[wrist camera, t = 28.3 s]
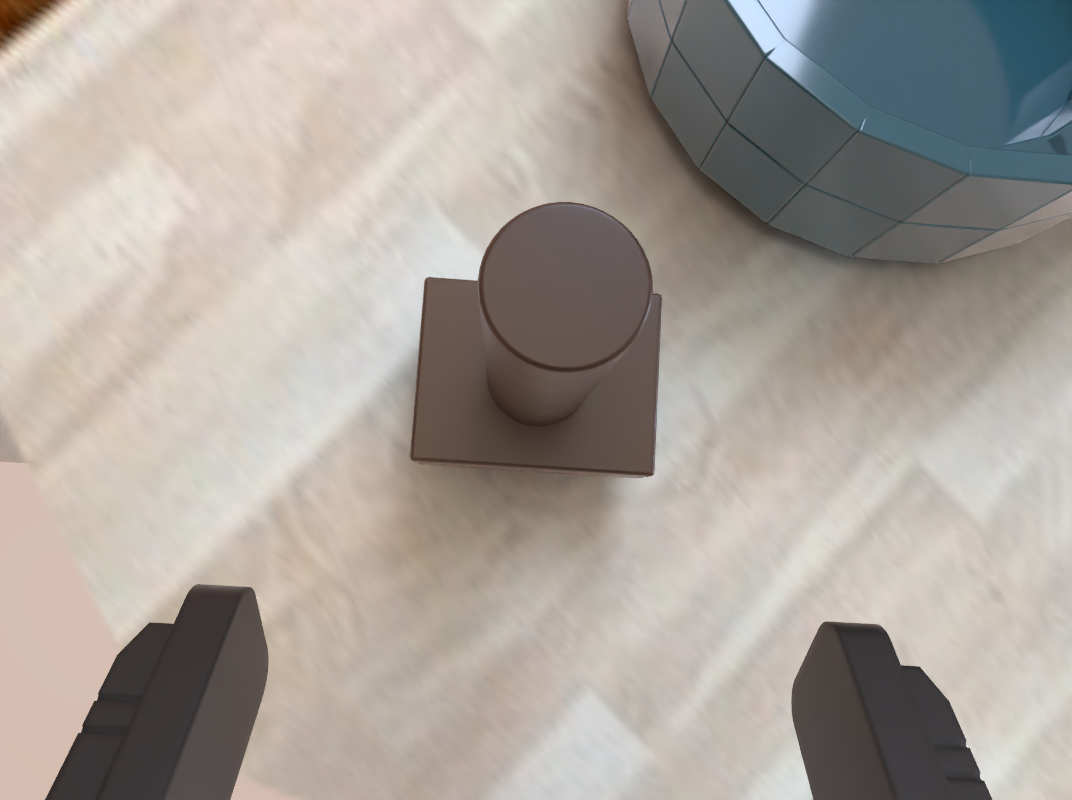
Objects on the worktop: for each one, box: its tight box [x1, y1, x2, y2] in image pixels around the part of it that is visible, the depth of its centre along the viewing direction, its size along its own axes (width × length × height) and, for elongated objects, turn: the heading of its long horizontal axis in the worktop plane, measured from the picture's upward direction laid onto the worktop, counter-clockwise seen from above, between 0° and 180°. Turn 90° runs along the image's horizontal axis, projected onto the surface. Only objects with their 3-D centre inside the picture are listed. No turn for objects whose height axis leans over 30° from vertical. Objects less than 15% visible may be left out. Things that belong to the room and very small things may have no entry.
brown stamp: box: [410, 202, 662, 478], centre depth 15 cm, size 5×4×10 cm
